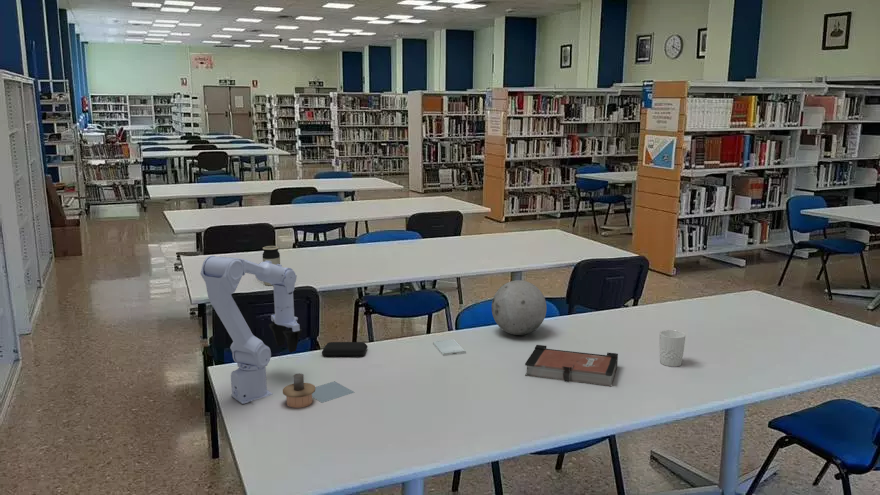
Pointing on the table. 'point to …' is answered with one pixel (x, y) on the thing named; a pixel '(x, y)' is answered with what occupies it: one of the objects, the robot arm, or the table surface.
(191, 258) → the table surface
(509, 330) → the moon model
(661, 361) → the white cup
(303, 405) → the bowl
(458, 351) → the hard drive
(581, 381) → the book
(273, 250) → the travel mug
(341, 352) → the carrying case or bag
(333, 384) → the mat
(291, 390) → the lid
